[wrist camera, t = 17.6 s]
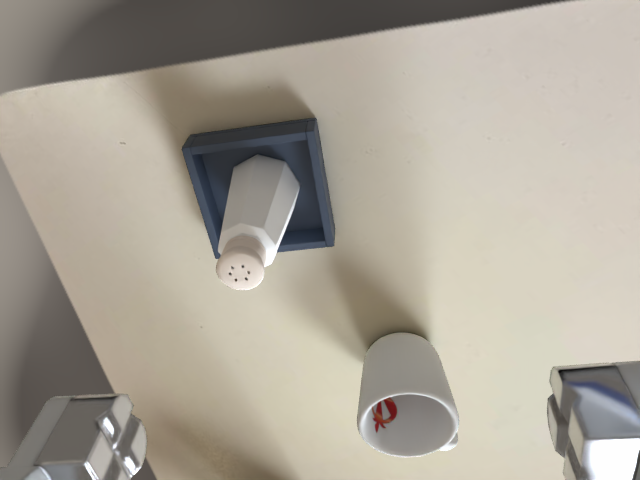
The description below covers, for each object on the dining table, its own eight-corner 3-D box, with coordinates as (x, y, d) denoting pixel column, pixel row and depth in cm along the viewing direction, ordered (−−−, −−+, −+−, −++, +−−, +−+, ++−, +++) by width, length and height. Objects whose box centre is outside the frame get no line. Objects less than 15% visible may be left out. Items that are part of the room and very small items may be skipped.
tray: (316, 117, 39) (314, 130, 37) (335, 229, 44) (334, 246, 42) (190, 134, 40) (180, 148, 38) (222, 241, 45) (215, 259, 43)
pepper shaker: (294, 149, 40) (277, 228, 30) (306, 214, 43) (293, 306, 33) (221, 157, 40) (181, 237, 31) (237, 221, 43) (205, 313, 34)
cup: (480, 376, 51) (499, 450, 45) (410, 412, 54) (419, 487, 48) (409, 305, 47) (418, 375, 41) (338, 349, 50) (336, 421, 44)
